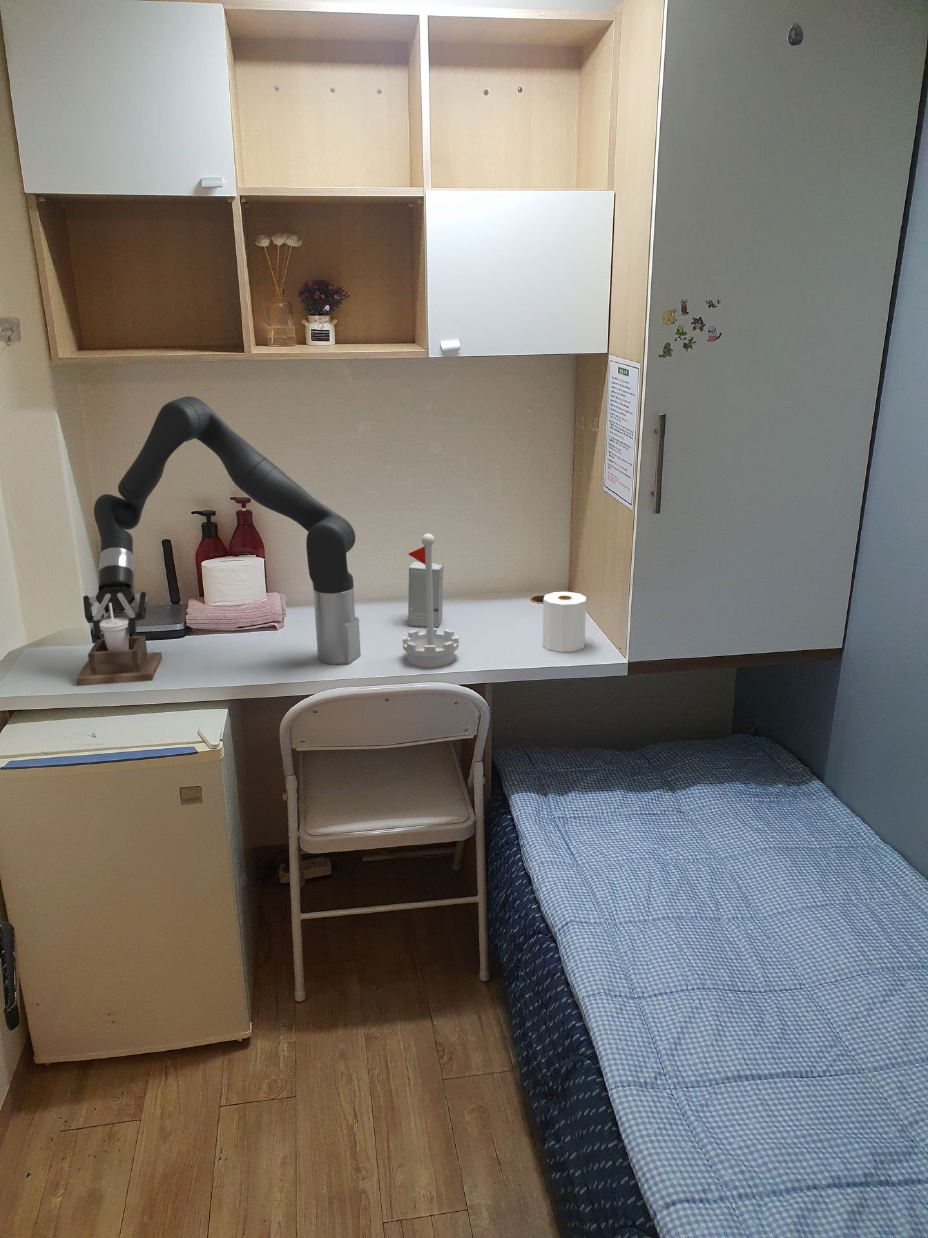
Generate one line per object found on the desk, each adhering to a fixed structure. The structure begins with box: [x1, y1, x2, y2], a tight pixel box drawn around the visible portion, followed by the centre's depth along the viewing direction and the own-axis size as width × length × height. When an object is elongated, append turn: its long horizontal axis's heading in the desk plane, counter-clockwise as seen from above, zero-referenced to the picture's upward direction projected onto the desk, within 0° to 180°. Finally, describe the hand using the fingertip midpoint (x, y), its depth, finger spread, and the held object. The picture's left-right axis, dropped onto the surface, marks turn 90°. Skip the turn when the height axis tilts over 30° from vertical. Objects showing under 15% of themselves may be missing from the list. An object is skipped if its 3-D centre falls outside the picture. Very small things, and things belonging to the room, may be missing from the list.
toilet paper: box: [542, 591, 587, 653], centre depth 218 cm, size 10×10×12 cm
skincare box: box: [407, 561, 444, 628], centre depth 234 cm, size 8×7×16 cm
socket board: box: [75, 635, 163, 686], centre depth 206 cm, size 16×14×6 cm
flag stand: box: [402, 533, 460, 668], centre depth 208 cm, size 13×13×30 cm
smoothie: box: [99, 603, 129, 651], centre depth 204 cm, size 6×6×14 cm
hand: (115, 636), depth 203 cm, fingers closed on smoothie, 6 cm apart
